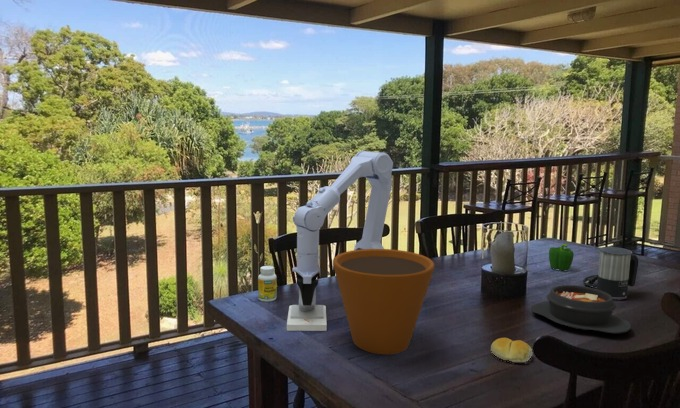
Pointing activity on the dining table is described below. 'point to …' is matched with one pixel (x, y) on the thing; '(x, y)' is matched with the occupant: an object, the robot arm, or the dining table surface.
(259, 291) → the supplement bottle
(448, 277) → the dining table surface
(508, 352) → the bread roll
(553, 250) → the bell pepper
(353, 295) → the flower pot
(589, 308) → the casserole
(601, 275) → the milk frother
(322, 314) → the scale
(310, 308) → the cylinder
